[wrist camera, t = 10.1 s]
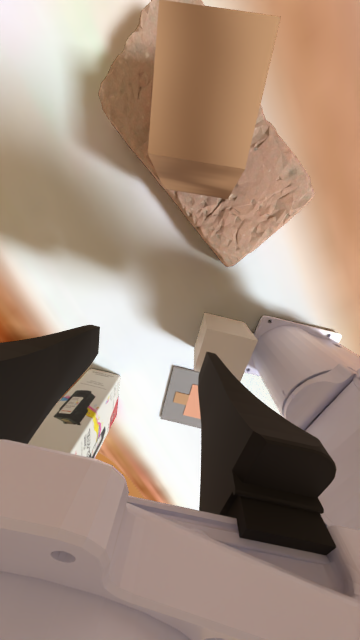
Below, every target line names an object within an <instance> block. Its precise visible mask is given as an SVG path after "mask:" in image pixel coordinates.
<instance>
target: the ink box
mask: <svg viewBox="0 0 360 640" xmlns="http://www.w3.org/2000/svg"><path fill="white" fill-rule="evenodd" d="M119 385H120V375H116V374H113V373H109V372H105V371H101V370H96V369H89V370H88V371H87V372H86V373H85V374H84V375H83V376H82V377H81V378H80V380H79V381H78V382H77V383H76V384H75V385H74V386H73V387H72V388H71V389H70V390H69V391H68V392H67V393H66V394H65V395H64V396H63V397H62V398H61V399H60V401H59V402H58V403H57V404H56V405H55V406H54V407H53V409H52V410H51V411H50V413H49V414H48V416H47V417H46V418H45V420H44V421H43V423H42V424H41V425H40V427H39V428H38V430H37V431H36V432H35V434H34V435H33V437H32V438H31V440H30V441H29V443H28V444H29V445H34V446H38V447H43V448H48V449H52V450H57V451H62V452H66V453H71V454H76V455H80V456H85V457H90V458H95V457H96V455H97V453H98V451H99V449H100V447H101V445H102V443H103V441H104V439H105V437H106V435H107V433H108V431H109V429H110V427H111V425H112V423H113V421H114V419H115V417H116V415H117V405H118V395H119Z"/></svg>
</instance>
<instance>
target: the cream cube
mask: <svg viewBox="0 0 360 640" xmlns="http://www.w3.org/2000/svg"><path fill="white" fill-rule="evenodd" d="M257 342H258V340H257V339H256V337H255V336H254V334H253V333H252V332H251V330H250V329H249V328H248V326H247V325H246V323H245V322H242V321H238V320H234V319H230V318H225V317H221V316H217V315H213V314H209V313H205V312H204V316H203V319H202V323H201V326H200V330H199V333H198V336H197V340H196V343H195V347H194V371H198V372H200V370H201V367H202V364H203V361H204V358H205V355H206V351H207V352H211V353H215V354H216V355H217V356H218V357H219V358H220V359H221V361H222V362H223V363H224V364H225V366H226V367H227V368H228V369H229V370H230V372H231V373H232V374H233V375H234V376H235V377H236V378H237V379H238V380H239V381H241V378H242V376H243V374H244V372H245V369H246V367H247V365H248V362H249V360H250V358H251V356H252V353H253V351H254V349H255V346H256V344H257Z"/></svg>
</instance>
